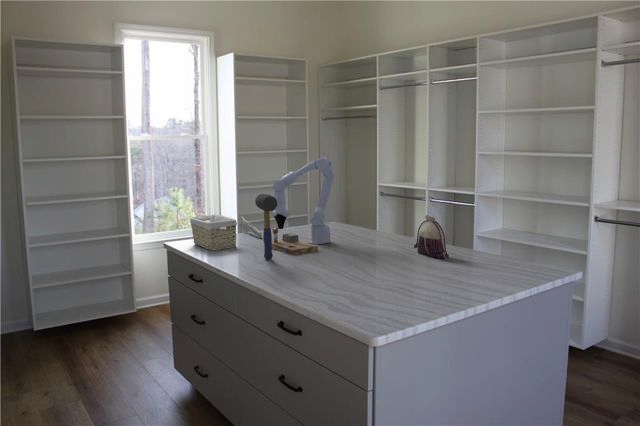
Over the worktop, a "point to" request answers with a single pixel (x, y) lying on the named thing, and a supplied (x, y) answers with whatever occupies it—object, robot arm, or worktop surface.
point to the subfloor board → (294, 247)
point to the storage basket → (214, 231)
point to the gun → (249, 227)
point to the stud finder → (290, 237)
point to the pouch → (431, 239)
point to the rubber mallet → (267, 221)
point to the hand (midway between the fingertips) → (280, 228)
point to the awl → (275, 234)
